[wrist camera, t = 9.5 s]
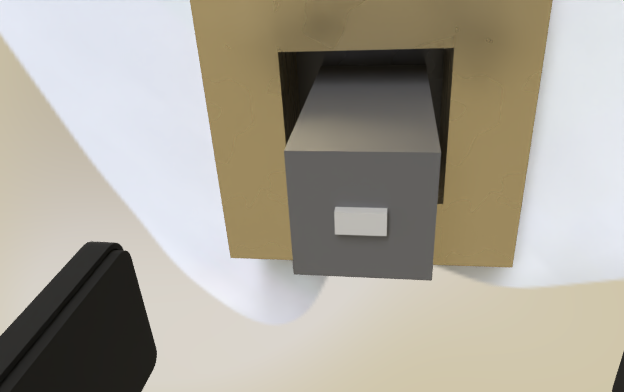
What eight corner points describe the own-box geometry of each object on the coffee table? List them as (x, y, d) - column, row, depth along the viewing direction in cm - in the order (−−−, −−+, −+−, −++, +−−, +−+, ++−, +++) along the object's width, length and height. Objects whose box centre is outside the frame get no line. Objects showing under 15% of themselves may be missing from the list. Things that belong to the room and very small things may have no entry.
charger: (426, 64, 20) (442, 157, 13) (420, 160, 22) (432, 286, 15) (320, 65, 21) (281, 155, 14) (324, 159, 23) (292, 280, 16)
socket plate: (532, -61, 18) (560, -52, 15) (497, 219, 23) (512, 267, 20) (217, -45, 20) (184, -34, 17) (251, 213, 25) (230, 257, 22)
